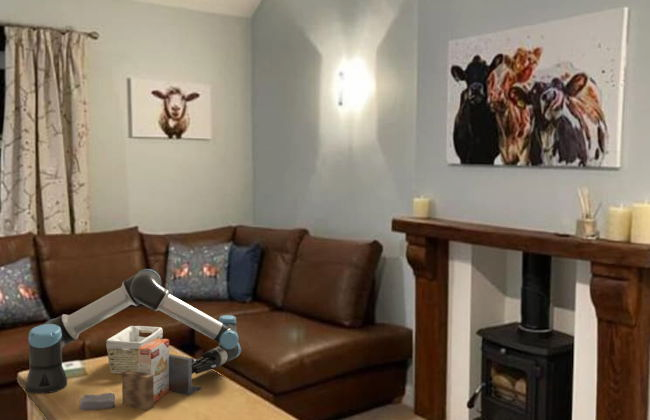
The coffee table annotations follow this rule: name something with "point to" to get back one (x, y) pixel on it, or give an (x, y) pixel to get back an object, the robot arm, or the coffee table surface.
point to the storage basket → (129, 347)
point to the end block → (137, 390)
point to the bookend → (181, 375)
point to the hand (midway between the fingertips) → (177, 375)
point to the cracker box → (156, 365)
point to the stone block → (97, 401)
